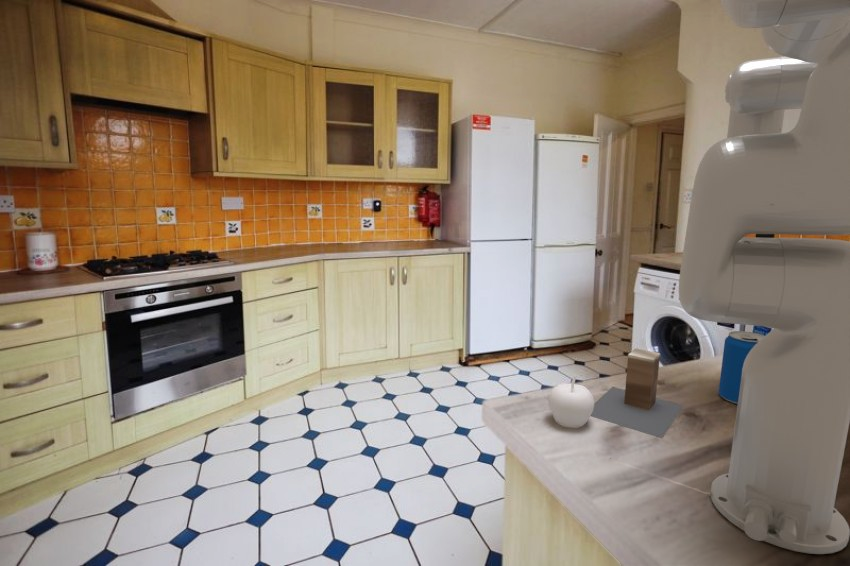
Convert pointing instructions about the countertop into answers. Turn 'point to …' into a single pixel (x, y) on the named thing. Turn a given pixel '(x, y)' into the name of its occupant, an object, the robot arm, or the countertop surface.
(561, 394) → the plain white apple
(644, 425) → the mat
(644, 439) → the countertop surface
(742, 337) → the beverage can
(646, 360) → the block
